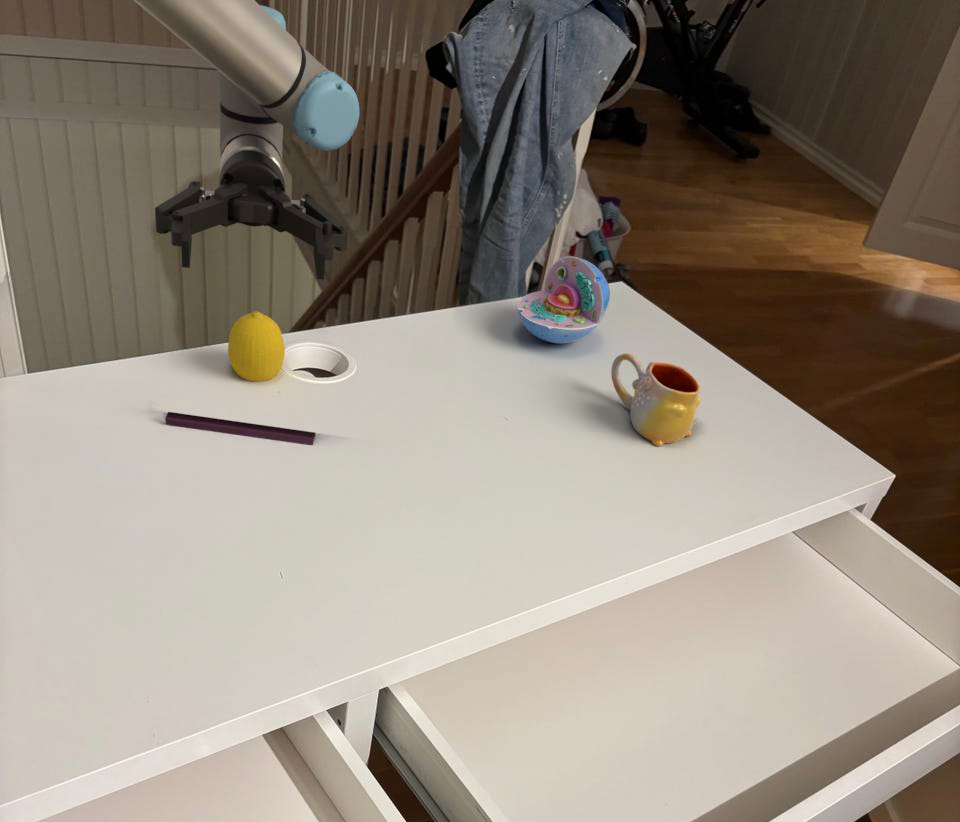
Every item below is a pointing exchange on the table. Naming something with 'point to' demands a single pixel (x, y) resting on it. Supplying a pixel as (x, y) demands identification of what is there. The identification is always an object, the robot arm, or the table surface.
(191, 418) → the dark purple flat bar
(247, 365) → the lemon
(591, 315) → the cell model
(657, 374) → the mug
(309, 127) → the robot arm
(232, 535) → the table surface
